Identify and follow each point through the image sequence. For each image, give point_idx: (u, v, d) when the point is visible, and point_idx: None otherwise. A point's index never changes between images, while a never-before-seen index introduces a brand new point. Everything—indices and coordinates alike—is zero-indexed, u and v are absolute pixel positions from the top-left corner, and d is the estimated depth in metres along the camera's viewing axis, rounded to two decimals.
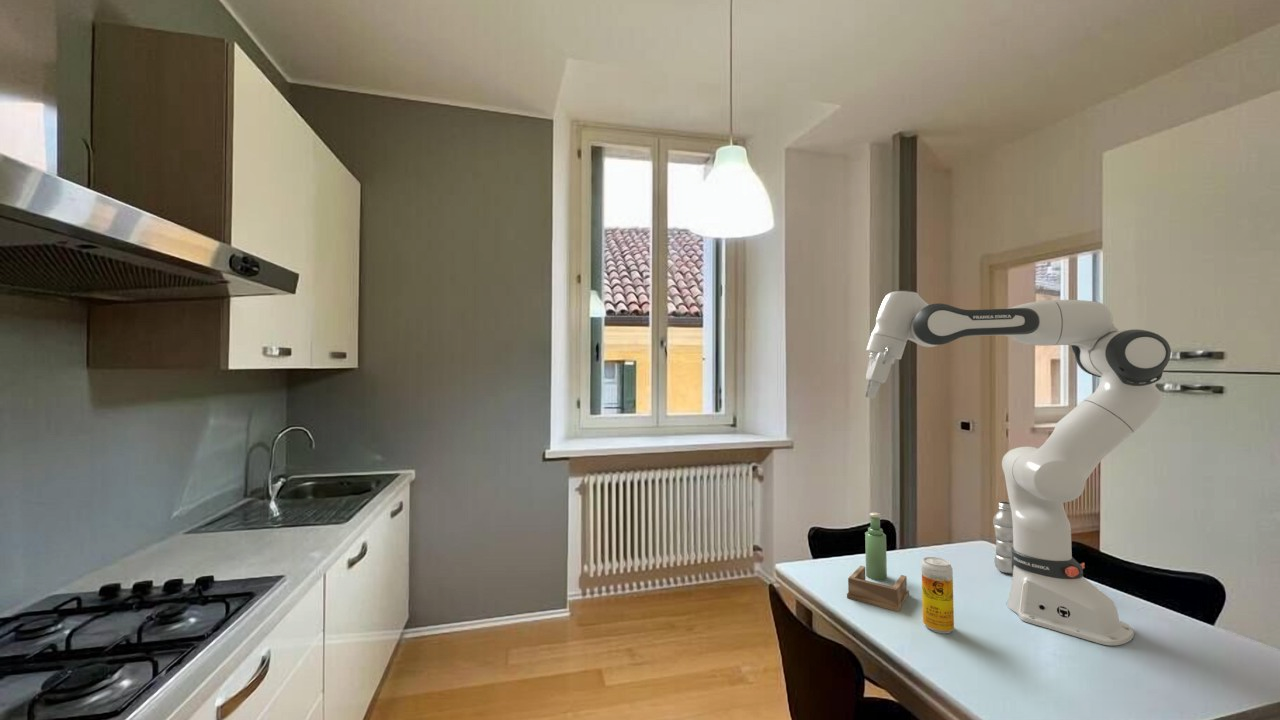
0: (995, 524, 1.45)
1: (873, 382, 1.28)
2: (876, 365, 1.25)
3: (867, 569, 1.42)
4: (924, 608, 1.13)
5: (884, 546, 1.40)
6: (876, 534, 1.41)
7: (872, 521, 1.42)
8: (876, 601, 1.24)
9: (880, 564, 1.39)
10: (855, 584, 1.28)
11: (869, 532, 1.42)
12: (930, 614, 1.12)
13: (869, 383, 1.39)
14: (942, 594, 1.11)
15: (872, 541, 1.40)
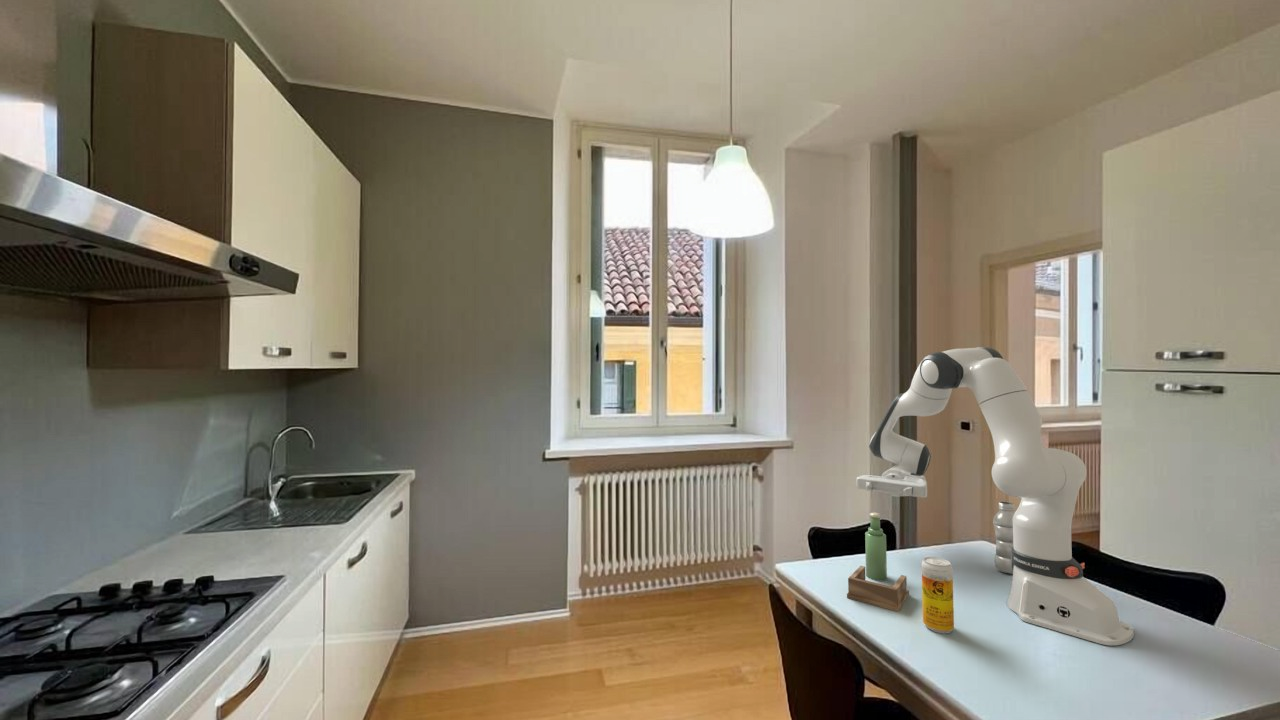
0: (995, 524, 1.45)
1: None
2: None
3: (867, 569, 1.42)
4: (924, 608, 1.13)
5: (884, 546, 1.40)
6: (876, 534, 1.40)
7: (872, 521, 1.42)
8: (876, 601, 1.24)
9: (880, 564, 1.39)
10: (855, 584, 1.28)
11: (869, 532, 1.42)
12: (930, 614, 1.12)
13: None
14: (942, 594, 1.11)
15: (872, 540, 1.40)
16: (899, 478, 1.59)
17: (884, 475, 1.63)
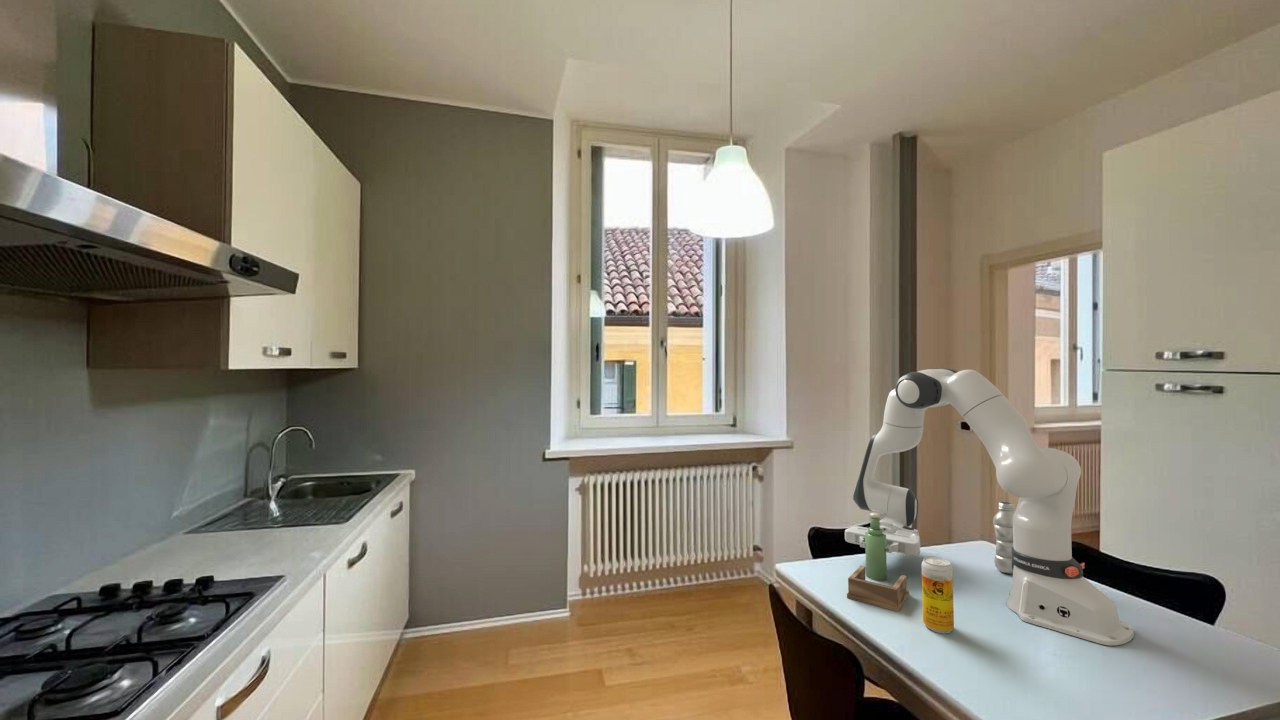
0: (995, 524, 1.45)
1: None
2: None
3: (867, 569, 1.42)
4: (924, 608, 1.13)
5: (884, 546, 1.40)
6: (876, 534, 1.40)
7: (872, 521, 1.42)
8: (876, 601, 1.24)
9: (880, 564, 1.39)
10: (855, 584, 1.28)
11: (869, 532, 1.42)
12: (930, 614, 1.12)
13: None
14: (942, 594, 1.11)
15: (872, 541, 1.40)
16: (890, 532, 1.48)
17: None
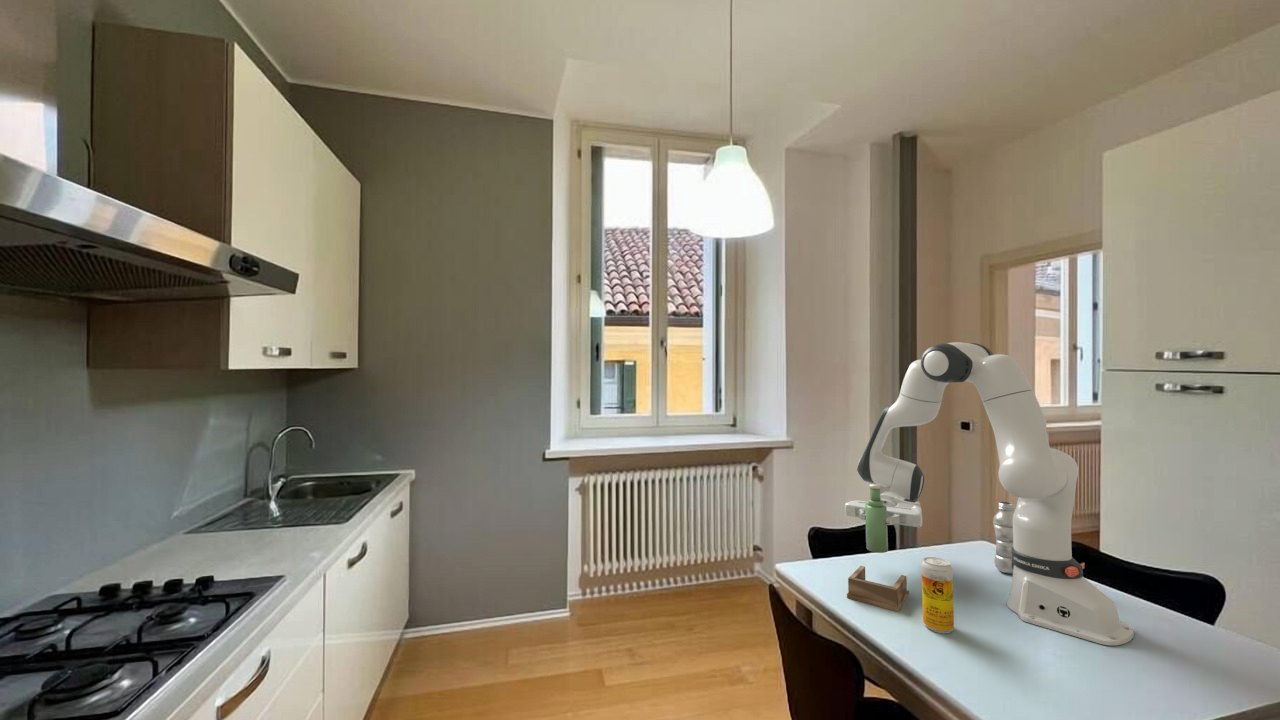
0: (995, 524, 1.45)
1: None
2: None
3: (867, 541, 1.38)
4: (924, 608, 1.13)
5: (885, 517, 1.36)
6: (876, 505, 1.37)
7: (872, 492, 1.38)
8: (876, 601, 1.24)
9: (881, 536, 1.36)
10: (855, 584, 1.28)
11: (869, 503, 1.38)
12: (930, 614, 1.12)
13: None
14: (942, 594, 1.11)
15: (872, 512, 1.37)
16: (891, 504, 1.45)
17: None
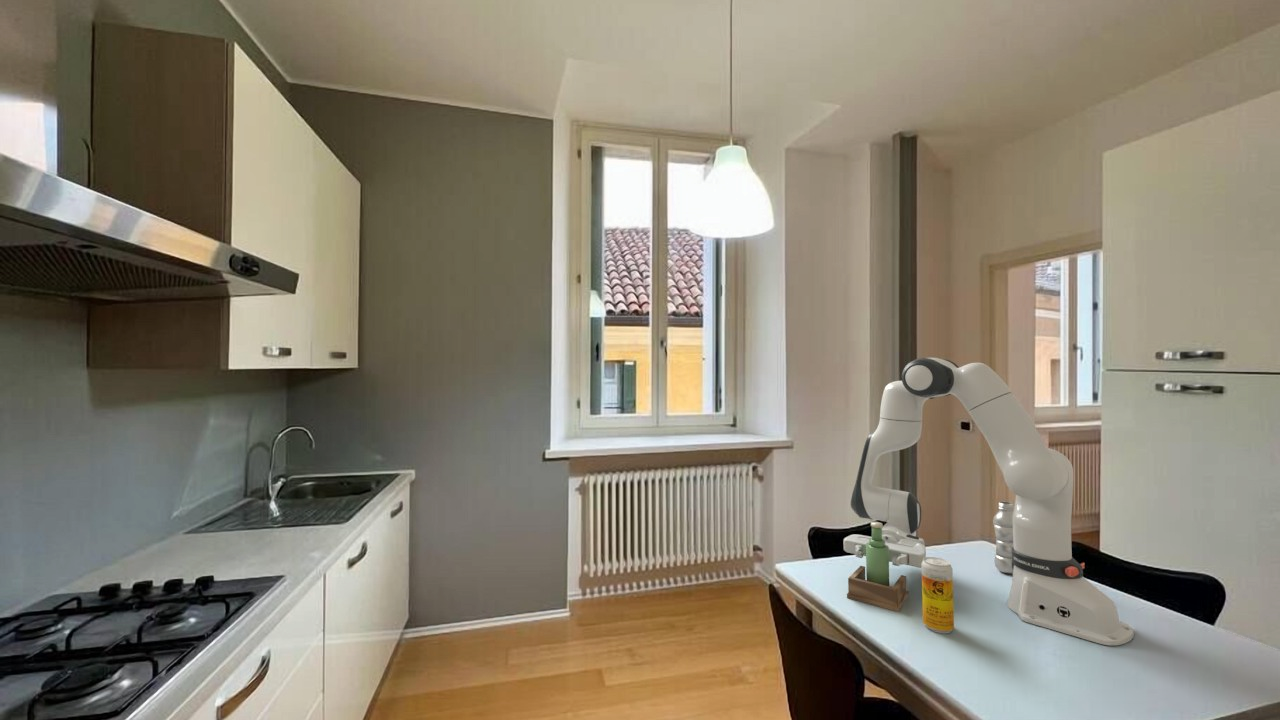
0: (995, 524, 1.45)
1: None
2: None
3: None
4: (924, 608, 1.13)
5: (887, 559, 1.28)
6: (878, 546, 1.28)
7: (873, 531, 1.29)
8: (876, 601, 1.24)
9: (882, 579, 1.27)
10: (855, 584, 1.28)
11: (870, 543, 1.30)
12: (930, 614, 1.12)
13: None
14: (942, 594, 1.11)
15: (873, 553, 1.28)
16: (893, 541, 1.36)
17: None
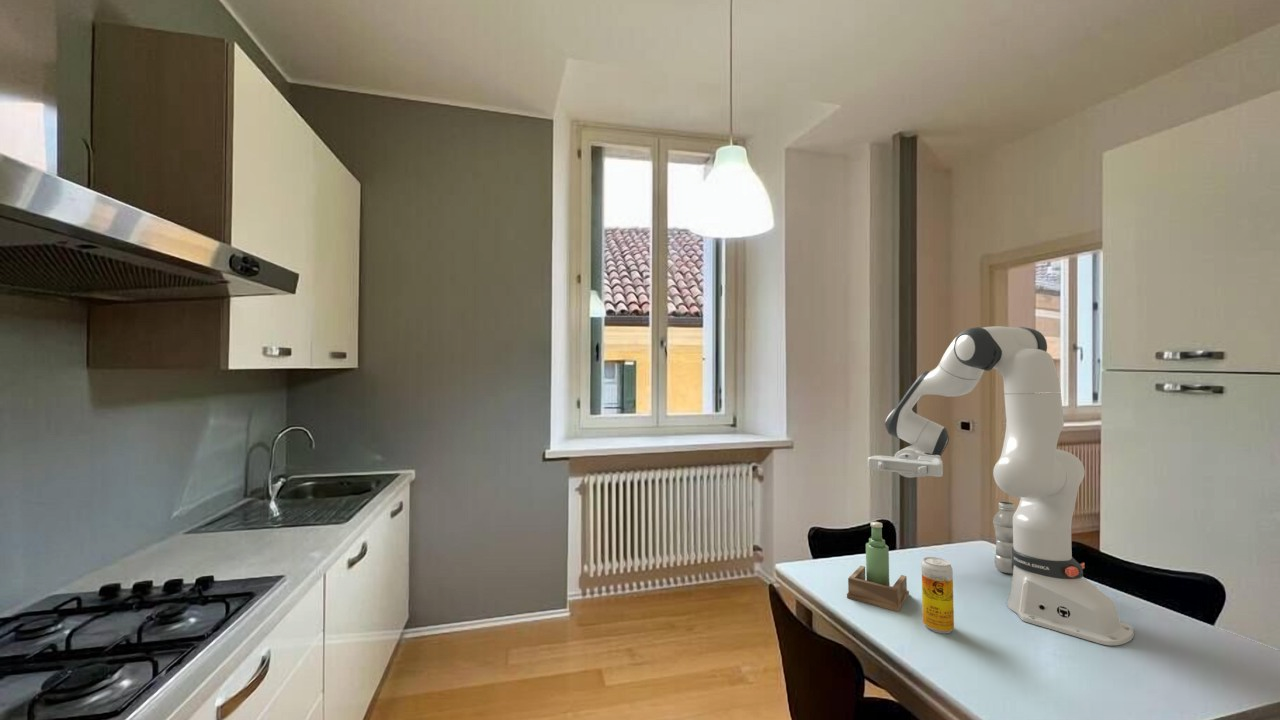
0: (995, 524, 1.45)
1: None
2: None
3: None
4: (924, 608, 1.13)
5: (886, 559, 1.28)
6: (878, 546, 1.28)
7: (873, 531, 1.29)
8: (876, 601, 1.24)
9: (882, 579, 1.27)
10: (855, 584, 1.28)
11: (870, 543, 1.30)
12: (930, 614, 1.12)
13: None
14: (942, 594, 1.11)
15: (873, 553, 1.28)
16: (913, 458, 1.52)
17: (897, 455, 1.56)
